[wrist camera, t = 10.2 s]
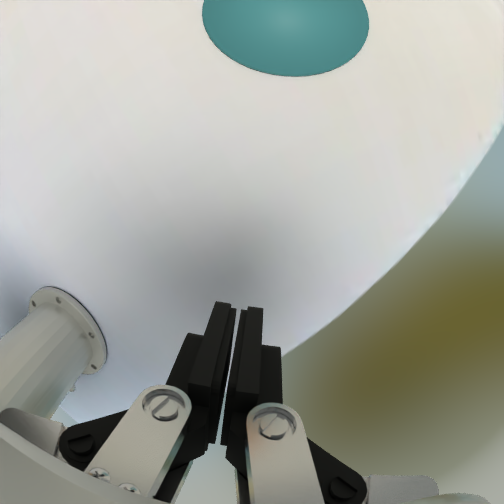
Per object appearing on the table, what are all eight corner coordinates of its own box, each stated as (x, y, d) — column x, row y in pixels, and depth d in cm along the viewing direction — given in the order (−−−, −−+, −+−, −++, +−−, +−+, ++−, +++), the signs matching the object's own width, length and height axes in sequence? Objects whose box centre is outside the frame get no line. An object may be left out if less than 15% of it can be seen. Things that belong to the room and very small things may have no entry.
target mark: (347, 101, 18) (347, 101, 18) (179, 55, 18) (178, 54, 17) (379, -12, 14) (379, -13, 13) (234, -51, 13) (234, -52, 13)
